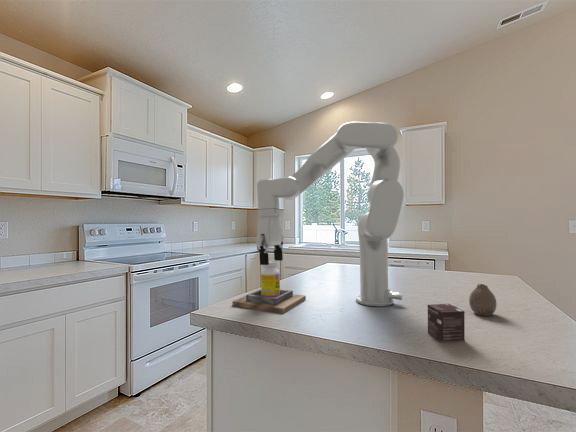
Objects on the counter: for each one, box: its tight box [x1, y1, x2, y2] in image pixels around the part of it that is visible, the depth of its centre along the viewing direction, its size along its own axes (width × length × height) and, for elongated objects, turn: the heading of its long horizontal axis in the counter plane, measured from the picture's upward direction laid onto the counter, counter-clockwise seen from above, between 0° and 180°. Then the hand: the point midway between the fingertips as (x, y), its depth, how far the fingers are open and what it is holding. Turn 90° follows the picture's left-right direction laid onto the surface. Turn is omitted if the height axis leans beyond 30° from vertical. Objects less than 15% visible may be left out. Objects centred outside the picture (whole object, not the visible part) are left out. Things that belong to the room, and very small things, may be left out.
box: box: [427, 303, 466, 344], centre depth 74 cm, size 6×6×7 cm
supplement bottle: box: [260, 260, 281, 298], centre depth 106 cm, size 7×7×13 cm
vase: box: [468, 283, 498, 317], centre depth 90 cm, size 7×7×9 cm
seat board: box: [231, 288, 307, 314], centre depth 106 cm, size 20×17×4 cm
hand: (271, 262), depth 106 cm, fingers open, 9 cm apart
